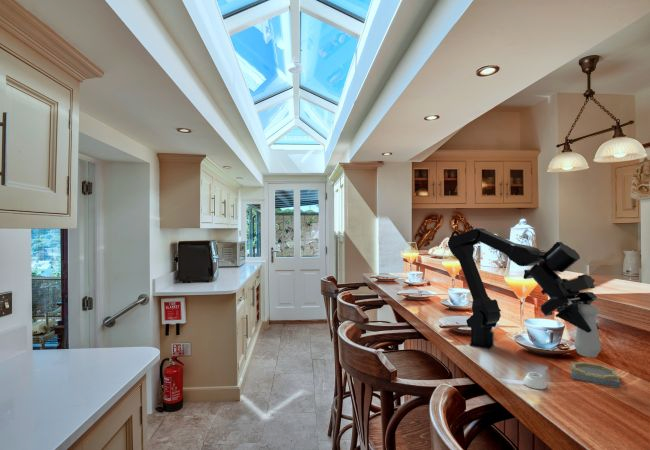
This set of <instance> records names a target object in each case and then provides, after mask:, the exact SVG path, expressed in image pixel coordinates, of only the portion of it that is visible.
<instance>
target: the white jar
mask: <svg viewBox="0 0 650 450" xmlns="http://www.w3.org/2000/svg"><path fill="white" fill-rule="evenodd" d="M522 383H523V385H525V386H527V387H529V388H531V389H534V390H543V389H547V384H546V382H545V380H544V378H543V376H542V374H541V373H538V372H534V371H530V372H527V374H526V375H525V377H524V379H523V380H522Z"/></svg>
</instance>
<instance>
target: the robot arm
mask: <svg viewBox="0 0 650 450" xmlns="http://www.w3.org/2000/svg"><path fill="white" fill-rule="evenodd" d="M479 243H481V244H484V245H486V246H488V247H490V248H492V249H494V250H497V251H499V252H500V253H502V254H504V255H506V256H507V258H508V260H510V261H512V262H513V263H514V264H515V265H517V266H518V267H519V266H520V267H530V269H524V271H523V272H524V274H523V280H529V279H533V280H534V282H535V283H536V284H537V285H539V287H540V288H541V289H542V290H541V291H540V293H541V294H542V295H547V296H548V297H549V299H547V300H546V301H545V302H544V303H543V304H541V305H540V311H541V313H542V314H543V315H544V316H545V317H549V316H552V315H553V313H554V311H555V310H556V311H557V313H556V314H555V317H556V318H559V319H560V320H563V321H565V322H567V323H569V324H570V325H573V326H574V327H576V328H577V327H578V328H580V329H582V330H584V331H586V332H588V333H589V332H591V331H592V330H591V328H590V327H589V325H588V324H587V322H586V321H585V320H584V318H583V317H582V316H581V314H580V313H579V311H578V306H579V305H582V304H587V305H592V303H593V302H594V301H595V300H597V299H598V296H597V295H596V294H595V293H594V292H593V291H585V290H588V289H591V290H592V289H594V288H596V286H595V284H594V283H595V282H596V281H595V279H594V278H592V276H591V275H588V274H587V273H586V274H582V275H578V276H577V278H573V279H567V278H562V277H560V276H559V274H558V272H561V273H564V272H565V271H567V270H568V269H569V268H570V267H571V266H573V265H574V264H575V263H577V262H578V261H579V260H580V259H581V256H580V254H579V253H578V252H577V251H576V250H575V249H573V248H571V247H570V246H568V245H567V244H564V242H562V241H556V242H555V243H554V244H553V245H552V247H551V248H550V249H548V250H547V251H546V252H544V251H541V250H540V249H539V248H537V247H536V246H533V245H532V246H531V245H528V244H527V245H526V244H521V243H516V242H513V241H511V240H508V239H506V238H504V237H501V236H500V235H497V234H495V233H493V232H490V231H489V230H487V229H485V228H482V227H479V228H478V227H474V228H472V229H470V230H468V231H465V232H462V233H458V234H457V235H455V234H453V235H451V236H450V237H449V239H448V241H447V246H448V248H449V250H450V252H451V255H453V257H455V259H457V260H458V262H459V265H460V267H461V270H462V274H463V276H464V279H465V281H466V285H467V287H468V289H469V292H470V295H471V298H472V304H471V311H472V315H471V316H469V317H468V318H467V319H466V325H467V327H468V328H470V342H469V346H472V347H477V348H483V349H489V350H491V348H492V347H493V346H494V345H495V332H494V331H493V328H495V327H496V326H497V324H498V322H499V321H500V318H501V311H502V310H501V309H500V307H499V303H498V301H497V299H491V298H490V297H489V296H488V292H487V290H486V288H485V284H484V283H483V280H482V277H481V275H480V272H479V270H478V269H479V268H478V267H477V265H476V262H475V259H474V252H475V247H474V246H475V245H478V244H479ZM531 266H532V267H531ZM596 325H597V329H598V330H599V329H600V328H599V326H598V323H597V322H596Z"/></svg>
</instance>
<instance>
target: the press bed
mask: <svg viewBox="0 0 650 450" xmlns="http://www.w3.org/2000/svg"><path fill="white" fill-rule="evenodd" d="M570 377H571V378H570V379H571V380H577V381H581V382H585V383H591V384H596V385H597V384H598V385H601V386H607V387H613V388H617V389H620V388H621V381H620V379H619V376H618V374H617V371H616V369H613V368H610V367H607V366H604V365H602V364H596V363H593V362H592V363H590V362H585V361H579V362H575V361H570Z"/></svg>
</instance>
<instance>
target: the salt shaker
mask: <svg viewBox="0 0 650 450" xmlns="http://www.w3.org/2000/svg"><path fill="white" fill-rule="evenodd" d="M578 311H579V313H580V314H581V316H582V317H583V318H584V320H585V321H586V322H587V324H588V325H589V327H590V328H591V330H592V331H591V332H589V333H588V332H586V331H584V330H582V329H580V328H578V327H576V332H575V337H574V341H573V345H574V348H575V351H576V352H577V354H579V355H580V356H583V357H586V358H597V357H598V355H599V353H600V352H601V351H602V344H601V340H600V335H599V329H597V325H598V324H597V325H596V323H597V320H596V316H598V315H599V308H598V307H597V306H596V305H593V304H590V305H587V304H582V305H579V306H578Z"/></svg>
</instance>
